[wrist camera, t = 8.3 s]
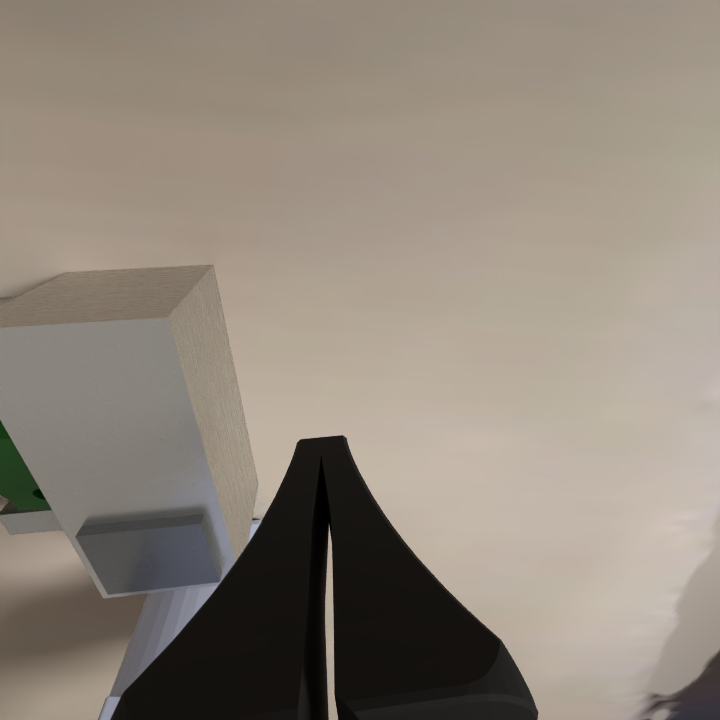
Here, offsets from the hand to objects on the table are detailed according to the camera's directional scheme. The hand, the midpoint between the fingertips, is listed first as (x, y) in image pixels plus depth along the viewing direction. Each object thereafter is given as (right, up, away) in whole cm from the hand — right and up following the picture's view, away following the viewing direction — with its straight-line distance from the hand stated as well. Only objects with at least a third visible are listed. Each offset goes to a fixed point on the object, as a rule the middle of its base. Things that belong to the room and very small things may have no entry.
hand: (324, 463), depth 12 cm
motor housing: (-12, +1, +10) cm, 15 cm away
